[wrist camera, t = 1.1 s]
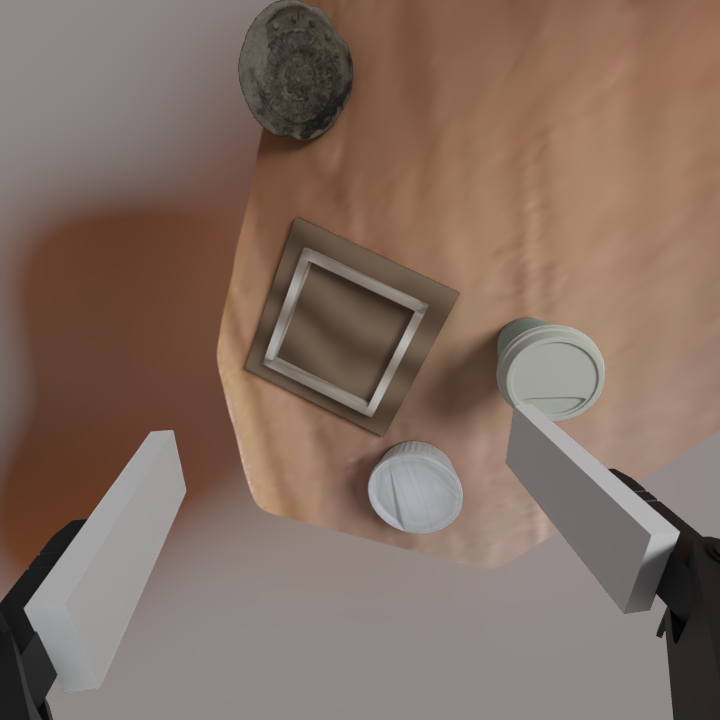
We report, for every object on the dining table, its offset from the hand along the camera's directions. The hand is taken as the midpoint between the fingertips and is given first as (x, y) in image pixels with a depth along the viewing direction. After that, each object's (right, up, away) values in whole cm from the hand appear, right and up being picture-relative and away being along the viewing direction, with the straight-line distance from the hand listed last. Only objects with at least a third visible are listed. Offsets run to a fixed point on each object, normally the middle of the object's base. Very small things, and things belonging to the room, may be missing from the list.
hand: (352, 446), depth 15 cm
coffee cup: (+19, +5, +28) cm, 34 cm away
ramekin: (+8, -11, +35) cm, 38 cm away
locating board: (-2, +7, +31) cm, 32 cm away
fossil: (-5, +32, +25) cm, 40 cm away
